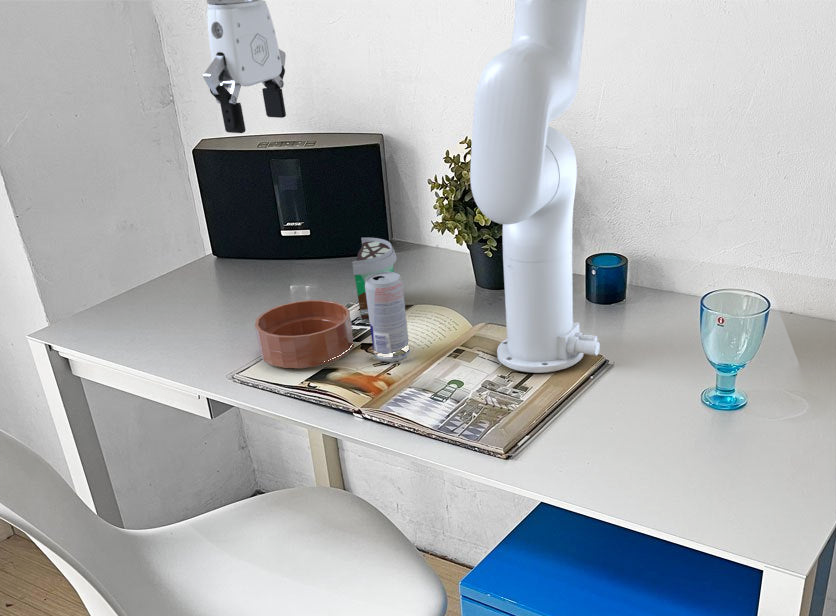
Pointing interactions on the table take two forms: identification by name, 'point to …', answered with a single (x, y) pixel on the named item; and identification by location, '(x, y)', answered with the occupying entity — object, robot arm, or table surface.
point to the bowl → (304, 333)
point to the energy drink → (387, 314)
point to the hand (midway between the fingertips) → (256, 124)
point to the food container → (371, 266)
